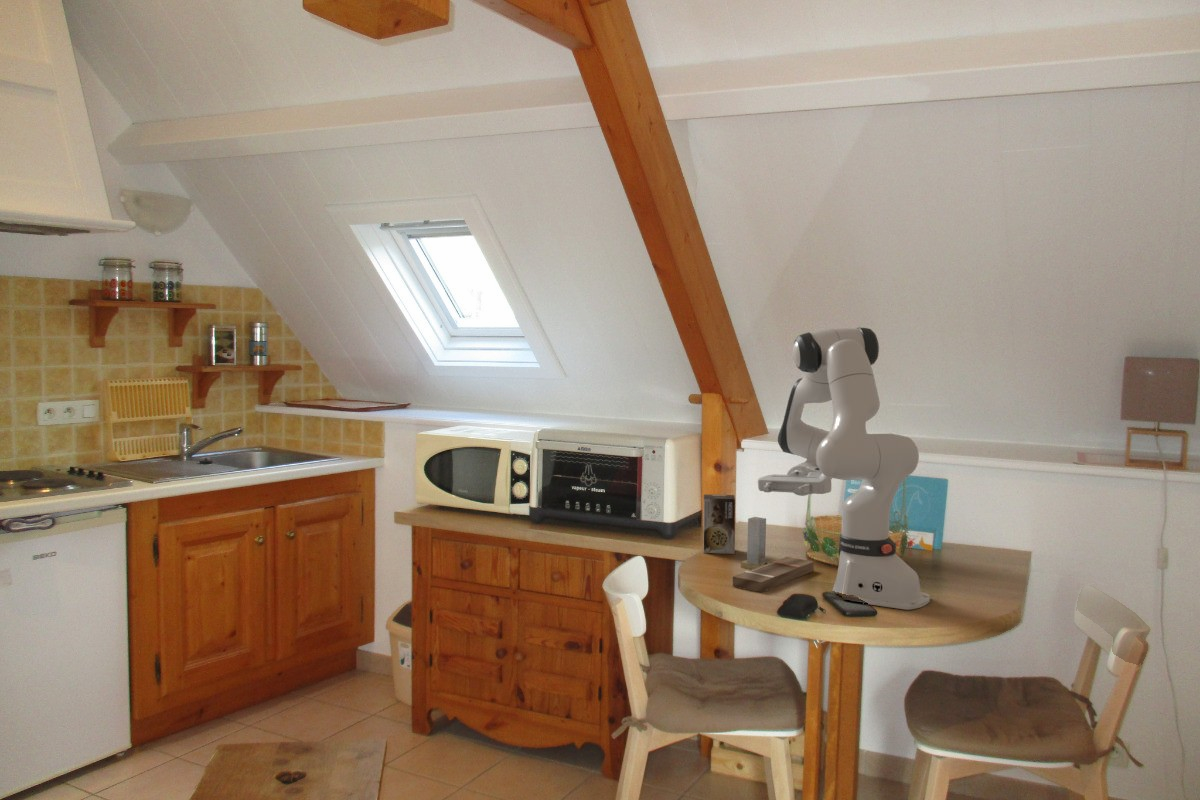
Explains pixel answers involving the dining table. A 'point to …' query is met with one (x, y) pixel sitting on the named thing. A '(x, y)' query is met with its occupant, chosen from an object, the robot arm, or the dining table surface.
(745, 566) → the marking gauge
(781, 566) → the walnut board
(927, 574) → the dining table surface
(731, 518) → the coffee box
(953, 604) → the dining table surface
